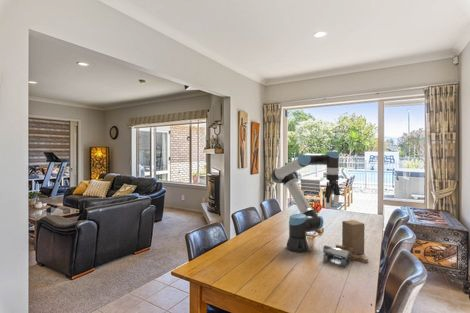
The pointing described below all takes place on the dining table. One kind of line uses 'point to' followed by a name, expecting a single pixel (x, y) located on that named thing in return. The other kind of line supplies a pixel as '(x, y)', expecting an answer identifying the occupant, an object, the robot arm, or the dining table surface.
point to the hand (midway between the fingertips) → (332, 206)
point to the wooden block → (353, 235)
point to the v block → (336, 260)
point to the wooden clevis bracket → (352, 254)
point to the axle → (336, 252)
